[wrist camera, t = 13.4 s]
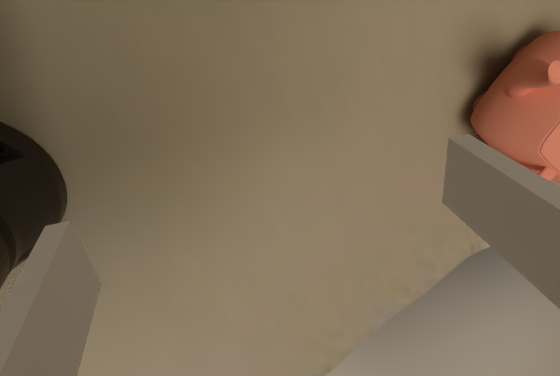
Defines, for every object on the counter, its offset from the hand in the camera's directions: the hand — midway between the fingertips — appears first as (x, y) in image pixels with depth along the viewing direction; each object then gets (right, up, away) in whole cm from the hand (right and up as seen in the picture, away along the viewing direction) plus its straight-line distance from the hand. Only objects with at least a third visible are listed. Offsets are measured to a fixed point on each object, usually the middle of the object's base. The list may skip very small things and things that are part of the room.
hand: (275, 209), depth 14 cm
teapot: (+28, +12, +32) cm, 44 cm away
